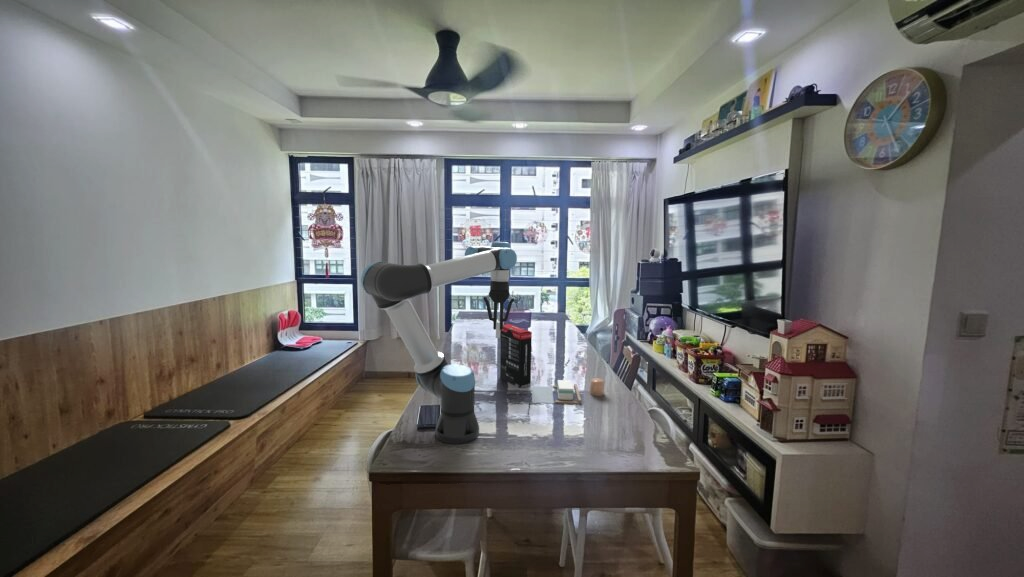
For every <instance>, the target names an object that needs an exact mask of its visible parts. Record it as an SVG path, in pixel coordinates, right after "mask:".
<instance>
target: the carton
mask: <svg viewBox="0 0 1024 577" xmlns="http://www.w3.org/2000/svg"><path fill="white" fill-rule="evenodd" d="M556 386H557V388H556V390H557V391H556V392H557V398H558V400H564V401H574V393H575V389H574V385H573V382H572V380H569V379H567V380H566V379H565V380H563V379H557V382H556Z"/></svg>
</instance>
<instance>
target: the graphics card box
mask: <svg viewBox="0 0 1024 577" xmlns="http://www.w3.org/2000/svg"><path fill="white" fill-rule="evenodd" d="M532 334H533V333H532V331H529V330H528V329H527V330H526V329H524V328H522V327H519V326H516V325H513V324H503V329H502V330H500V360H499V361H500V362H499V363H500V367H499V369H500V370H499V372H500V375H499V376H500V378H501V379H502V380H504V381H505V382H507V383H509V384H511V385H513V386H515V387H516V388H519V389H523V388H528V387H532V386H531V385H532V384H531V382H532V379H531V376H532V338H533V335H532Z"/></svg>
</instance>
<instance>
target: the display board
mask: <svg viewBox="0 0 1024 577" xmlns="http://www.w3.org/2000/svg"><path fill="white" fill-rule="evenodd" d="M553 388H554V389H557V385H552V386H539V385H537V386H536V385H532V386H531V403H539V404H540V403H542V404H554V403H555V404H562V405H563V404H565V405H566V404H567V405H582V398H581V394H580V391H579V388H578V385H577V383H574V385H573V389H574V393H575V397H576V400H577V401H574V400H555V401H554V392H553Z"/></svg>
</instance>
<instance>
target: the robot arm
mask: <svg viewBox="0 0 1024 577" xmlns="http://www.w3.org/2000/svg"><path fill="white" fill-rule="evenodd" d="M517 262H518V255H517V253H516V251H515V250H514V249H512V248H511V244H510V242H507V241H492V242H491V246H480V245H472V246H468V247H467V248H466V249H465V251H464V255H463V256H460V257H455V258H451V259H448V260H447V259H446V260H443V261H439V262H435V263H430V264H427V265H426V264H424V263H422V262H421V263H417V264H408V265H407V264H399V263H393V262H392V263H391V262H389V261H382V260H381V261H375V262H372V263H370V264H369V265H367V266H366V267H365V268H364V270H363V271H362V274H361V277H360V282H361V287H362V288H363V290H364V291H365V293H367V294H368V295H370V296H371V297H372V299H373V300H374V303H375V304H376V305H377V308H378V309H379V310H384V311H385V312H386V314H387V316H388V317H389V319H390V320H391V323H392V324H393V326H394V328H395V329H396V331H397V333H398V334H399V337H400V338H401V340H402V342H403V344H404V345H405V347H406V349H407V352H408V353H409V354H410V356H411V357H412V360H413V361H414V363H415V364H414V367H413V370H414V372H415V379H416V382H417V384H418V385H419V386H420V387H421V388H422V389H423V390H425V391H427V392H429V393H430V394H432V395H434V396H435V397H437V398H438V399H440V415H439V416H438V420H437V423H436V426H435V437H436V439H437V440H439V441H441V442H442V443H445V444H453V445H458V444H465V443H469V442H472V441H475V439H477V438H478V436H479V435H480V425H479V421H478V418H477V415H476V412H475V391H476V390H475V388H476V379H475V373H474V370H473V369H472V368H470V367H469V366H467V365H464V364H459V363H452V364H449V362H448V361H447V358H446V357H445V355H444V353H443V352H442V351H437V349H436V347H435V345H434V344H433V341H432V340H431V338H430V337H431V336H429V334H428V331H427V330H426V328H425V326H424V325H423V322H422V321H421V319H420V317H419V315H418V313H417V311H416V308H415V307H414V305H413V304H412V302H411V300H410V299H412V298H416V297H419V296H422V295H426V294H429V293H431V292H432V290H433V289H435V288H439V287H441V286H444V285H448V284H453V283H456V282H460V281H463V280H466V279H469V278H473V277H477V276H480V275H483V274H486V273H490V282H489V283H490V284H489V286H490V287H489V293H488V295H485V296H484V297H482V299H483V301H484V302H485V304H486V305H485V306H486V311H487V315H488V320H489V321H492V324H493V325H492V326H493V327H492V328H493V330H495V339H501V330H502V329H503V325H504V322H507V321H508V319H509V315H510V313H511V308H512V305H513V303H514V301H515V300H516V299H515V297H513V296H511V295H510V294H511V293H510V291H509V290H510V282H509V280H510V270H512V269H513V268H514V267H515V266H516V264H517ZM490 300H491V301H492V302H493V312H492V308H491V304H490ZM507 300H508V306H507V309H506V313H505V316H504V312H505V311H504V306H505V303H506V302H507ZM498 305H499V306H500V307H499V320H498Z"/></svg>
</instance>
